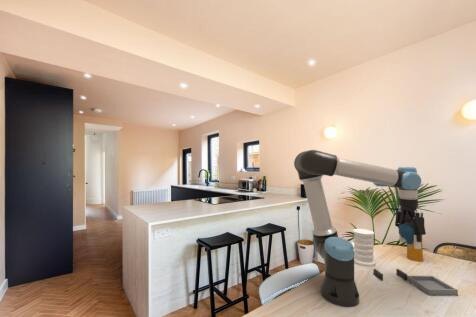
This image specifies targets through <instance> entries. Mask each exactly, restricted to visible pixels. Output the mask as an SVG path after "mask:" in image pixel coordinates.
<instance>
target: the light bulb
mask: <svg viewBox="0 0 476 317" xmlns="http://www.w3.org/2000/svg"><path fill="white" fill-rule="evenodd" d="M399 233H400V235H401V236H402V237H403V238H404V239H405V240H406V242H405V243H406V246H407V245H408V247H409V248H412V244H413V242H414V234H415V232H414V229H413V226H412V223H403V224H402V225H401V226H400V227H399V228H398V234H399Z"/></svg>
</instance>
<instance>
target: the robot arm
mask: <svg viewBox="0 0 476 317" xmlns="http://www.w3.org/2000/svg"><path fill="white" fill-rule="evenodd" d="M293 166H294V168H295V170H296V172H297V175H298V179H299V181H301V182H302V183H303V186H304V187H303V188H304V190H305V194H306V199H307V203H308V208H309V212H310V216H311V220H312V224H313V228H314V229H313V230H312V231H311V233H312V244H313V247H314V251H315V252H316V253H317V254H318V255H319V256H320V257H321V258H322V259H323V261H324V276H323V280H322V282H321V285H320V294H321V296H322V298H323V299H325V300H327V301H328V302H329V303H332V304H334V305H336V306H341V307H355V306H357V305H359V303H360V293H359V291H358V290H359V289H358V287H357V284H356V280H355V263H354V257H355V253H354V244H353V243H352V242H351V241H349V240H347V239H345V238H343V237H340V236H339V234H338V230H337V228H335V227H334V225H333V223H332V220H331V215H330V212H329V207H328V203H327V199H326V194H325V191H324V186H323V183H322V178H323V176H326V177H327V176H328V177H333V176H339V177H344V178H347V179H348V178H349V179H354V180H357V181H358V180H360V181H364V182H367V183H368V182H369V183H373V186H376V187H388V188H389V187H390V188H394V189H395V188H396V189H398V206H400V207H395V211H396V213H395V222H394V225H395V227H396V228H398V229H399V227H400V226H401V225H402V224H403V223H406V221H407V218H409V220H410V221H411V223H412V226H413V229H414V232H415V234H414V248H415V249H421V242H422V243H423V236H424V235H426V234H427V232H426V227H425V221H424V222H423V217H424V212H419V211H418V210H417V208H419V199H418V198H419V193H418V191H419V190H418V189H419V188H420V186H421V184H422V178H421V176H420V174H418V171H417V168H416V167H415V166H399V167H398V168H397V169H393V168H388V167H384V166H379V165H375V164H368V163H364V162H361V161H360V162H359V161H355V160H349V159H344V158H340V157H338V155H336V154H331V153H328V152H323V151H320V150H316V149H310V150H305V151H302V152H300V153H298V154H297V155H296V157H295V158H294V162H293ZM398 235H399V240H398V241H399V242H400V243H407V242H406V240H405V239H404V238H403V237H402V236H401V235H400V233H399V232H398ZM421 236H422V237H421Z"/></svg>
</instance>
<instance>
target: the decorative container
mask: <svg viewBox="0 0 476 317" xmlns="http://www.w3.org/2000/svg"><path fill="white" fill-rule="evenodd" d="M352 233H353V240H354V241H353V247H354V253H355V255H354V264H356V265H359V266H362V267H365V268H366V267H367V268H369V267H371V268H372V267H374V266H376V261H375V260H374V247H375V246H374V235H375V232H374V231H373V230H370V229H365V228H354V229H352Z"/></svg>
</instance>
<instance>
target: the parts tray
mask: <svg viewBox="0 0 476 317" xmlns="http://www.w3.org/2000/svg"><path fill="white" fill-rule="evenodd" d="M407 283H409V284H411V285H412V286H413V287H415V288H417V289H418V290H420V291H421V292H423V293H424V294H426V295H427V296H429V297H431V296H432V297H434V296H435V297H436V296H437V297H438V296H440V297H441V296H442V297H443V296H444V297H451V296H452V297H453V296H454V297H457V296H459V290H458V289H457V288H455V287H454V286H452V285H450V284H448V283H446V282H444V281H443V280H441V279H439V278H437V277H435V276H433V275H407Z"/></svg>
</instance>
